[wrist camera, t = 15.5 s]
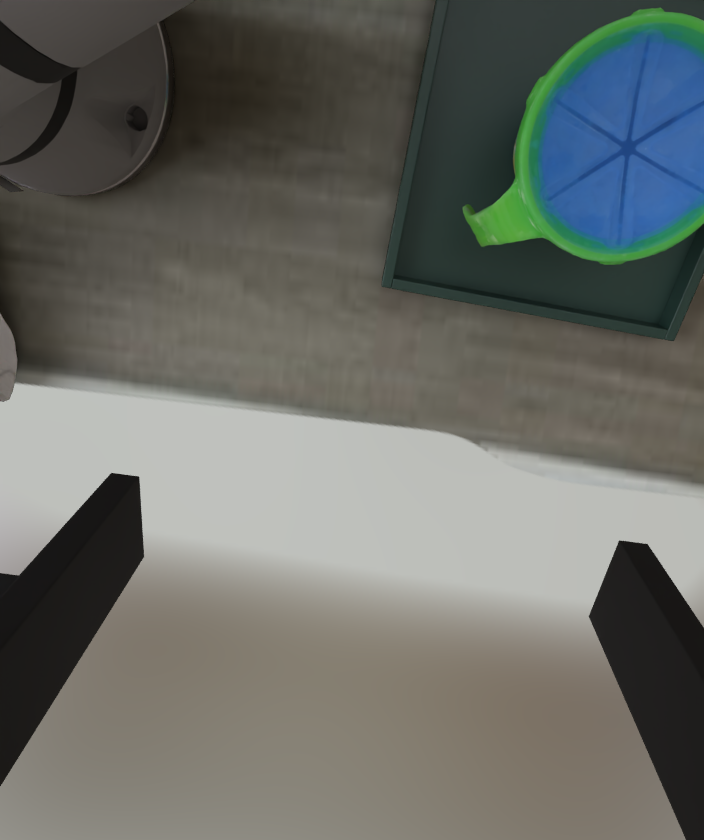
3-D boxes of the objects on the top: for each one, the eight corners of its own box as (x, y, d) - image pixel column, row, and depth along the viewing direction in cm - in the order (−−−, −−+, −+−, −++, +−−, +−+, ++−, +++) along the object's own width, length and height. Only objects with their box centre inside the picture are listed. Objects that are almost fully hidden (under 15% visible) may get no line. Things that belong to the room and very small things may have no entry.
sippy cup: (484, 282, 39) (512, 319, 29) (423, 131, 35) (434, 118, 26) (720, 173, 35) (838, 176, 26) (679, -10, 31) (800, -85, 22)
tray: (381, 280, 40) (381, 286, 38) (451, -83, 31) (455, -100, 29) (660, 332, 40) (674, 341, 38) (806, -14, 31) (834, -26, 29)
